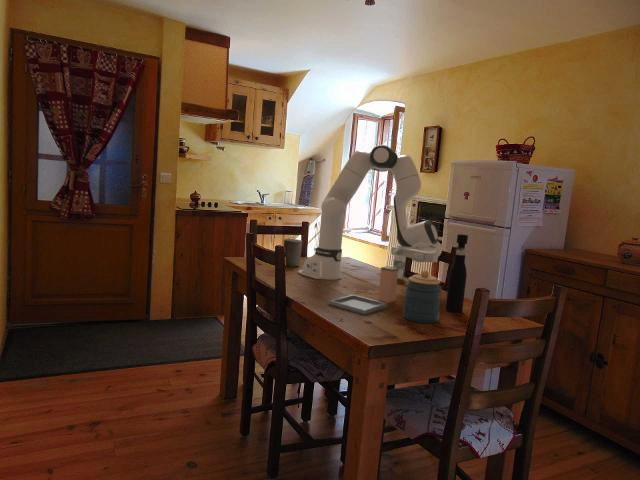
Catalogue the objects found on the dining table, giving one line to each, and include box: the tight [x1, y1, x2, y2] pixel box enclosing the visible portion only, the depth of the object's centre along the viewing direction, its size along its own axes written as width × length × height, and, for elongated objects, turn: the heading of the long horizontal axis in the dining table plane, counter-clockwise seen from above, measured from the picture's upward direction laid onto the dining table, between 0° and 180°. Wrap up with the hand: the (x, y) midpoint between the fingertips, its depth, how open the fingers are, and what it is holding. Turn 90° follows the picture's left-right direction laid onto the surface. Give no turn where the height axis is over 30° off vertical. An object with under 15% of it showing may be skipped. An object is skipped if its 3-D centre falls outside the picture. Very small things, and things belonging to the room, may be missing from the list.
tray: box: [328, 294, 388, 316], centre depth 181 cm, size 16×16×2 cm
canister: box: [402, 269, 443, 324], centre depth 170 cm, size 13×13×18 cm
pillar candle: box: [283, 238, 303, 268], centre depth 252 cm, size 10×10×15 cm
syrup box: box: [392, 255, 407, 281], centre depth 240 cm, size 6×6×14 cm
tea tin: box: [377, 265, 399, 304], centre depth 193 cm, size 5×5×14 cm
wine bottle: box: [445, 233, 469, 314], centre depth 184 cm, size 6×6×30 cm
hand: (405, 254), depth 201 cm, fingers open, 8 cm apart
